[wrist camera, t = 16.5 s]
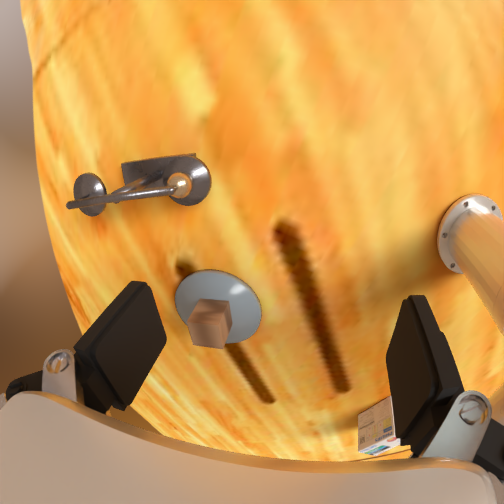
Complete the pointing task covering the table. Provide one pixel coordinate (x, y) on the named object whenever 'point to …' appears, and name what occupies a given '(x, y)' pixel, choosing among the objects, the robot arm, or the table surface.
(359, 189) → the table surface
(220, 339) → the walnut block
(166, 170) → the balance
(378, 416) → the light bulb box
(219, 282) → the dish
